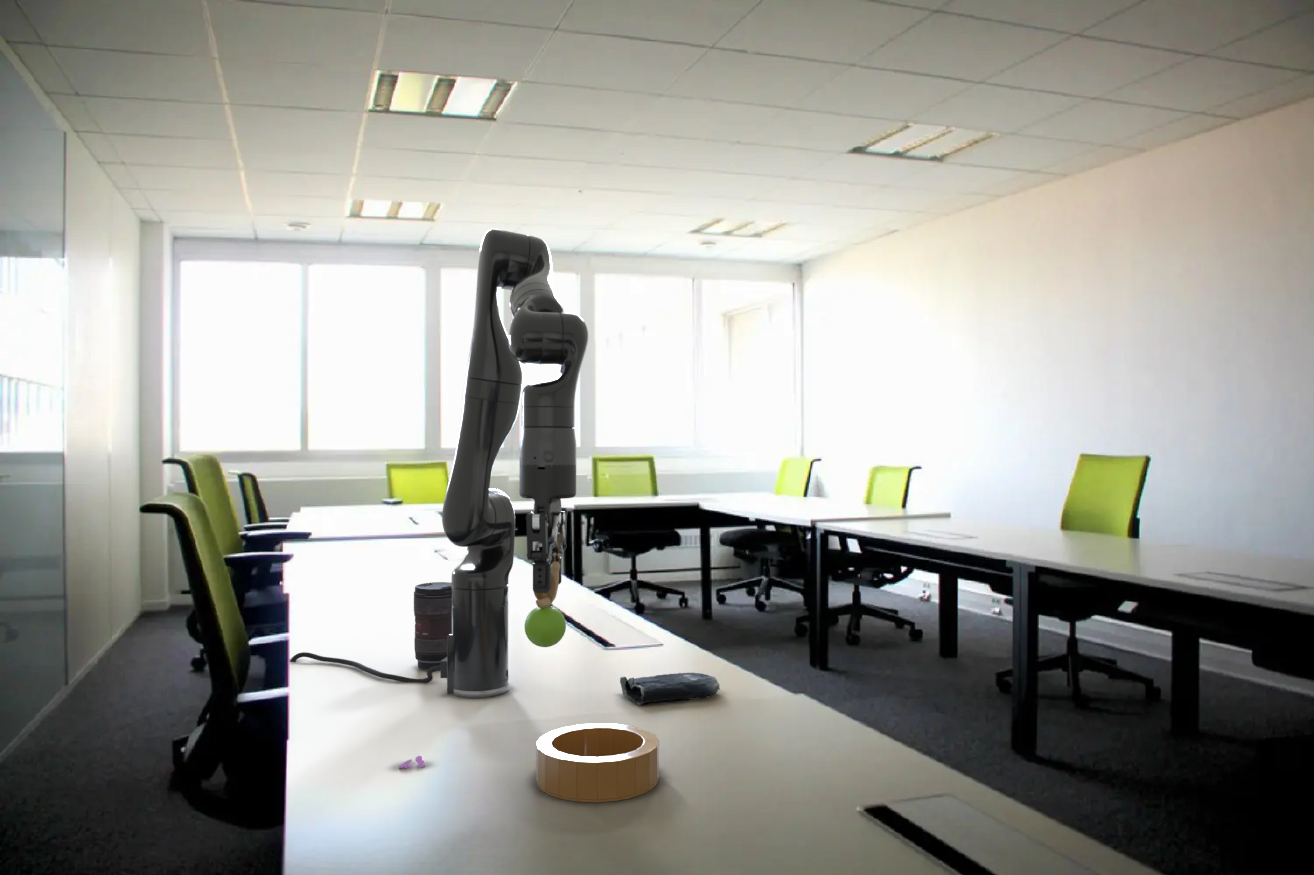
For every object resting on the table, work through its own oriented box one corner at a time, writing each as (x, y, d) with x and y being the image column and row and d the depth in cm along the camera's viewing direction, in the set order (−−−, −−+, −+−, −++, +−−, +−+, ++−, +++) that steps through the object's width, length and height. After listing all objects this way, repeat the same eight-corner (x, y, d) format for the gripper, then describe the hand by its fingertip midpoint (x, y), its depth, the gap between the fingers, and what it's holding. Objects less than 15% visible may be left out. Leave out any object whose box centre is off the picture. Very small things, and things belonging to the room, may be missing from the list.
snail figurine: (575, 642, 123) (576, 553, 123) (554, 652, 117) (555, 558, 117) (539, 639, 124) (539, 551, 125) (517, 649, 118) (517, 557, 118)
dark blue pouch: (644, 718, 139) (730, 693, 145) (638, 681, 139) (723, 659, 146) (623, 710, 147) (704, 688, 154) (617, 676, 148) (698, 655, 154)
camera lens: (404, 669, 165) (404, 586, 165) (431, 660, 172) (431, 580, 172) (441, 673, 162) (441, 589, 162) (467, 663, 169) (467, 583, 169)
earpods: (404, 781, 113) (404, 777, 112) (398, 770, 114) (398, 765, 112) (426, 768, 115) (426, 763, 113) (420, 757, 115) (420, 752, 114)
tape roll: (523, 799, 103) (523, 759, 103) (551, 757, 117) (551, 721, 117) (651, 804, 101) (651, 764, 101) (663, 760, 116) (663, 725, 116)
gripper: (533, 461, 128) (532, 580, 128) (505, 462, 114) (505, 596, 114) (585, 461, 128) (585, 581, 127) (564, 462, 113) (564, 597, 113)
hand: (547, 588), depth 121 cm, fingers closed on snail figurine, 6 cm apart
